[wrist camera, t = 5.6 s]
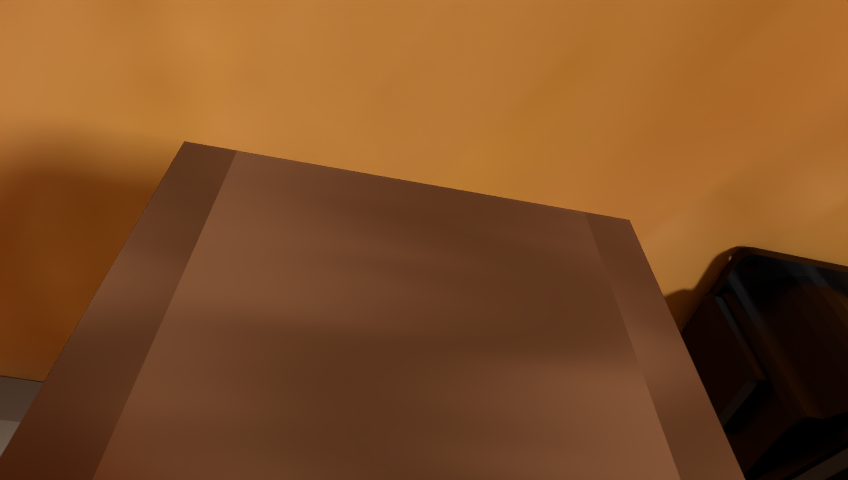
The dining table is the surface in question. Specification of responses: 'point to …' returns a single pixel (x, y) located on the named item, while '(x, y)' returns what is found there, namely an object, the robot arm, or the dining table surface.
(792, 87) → the dining table surface
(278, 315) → the box
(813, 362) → the robot arm
